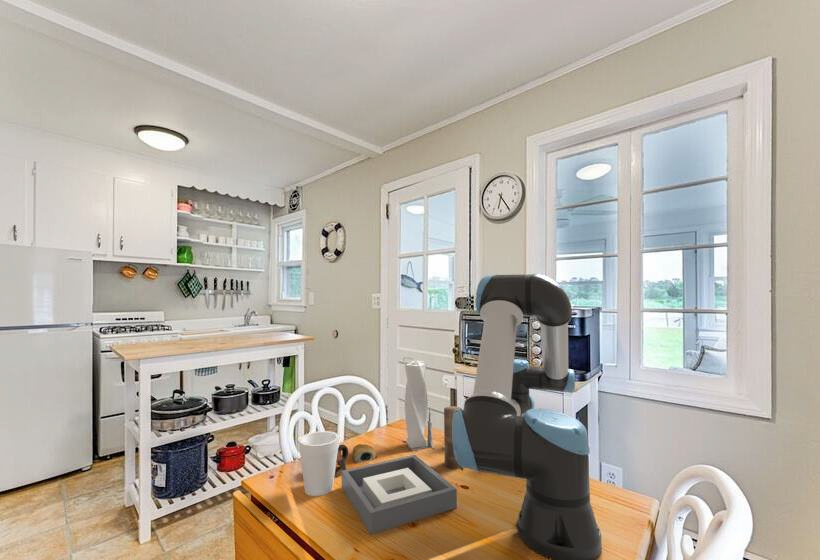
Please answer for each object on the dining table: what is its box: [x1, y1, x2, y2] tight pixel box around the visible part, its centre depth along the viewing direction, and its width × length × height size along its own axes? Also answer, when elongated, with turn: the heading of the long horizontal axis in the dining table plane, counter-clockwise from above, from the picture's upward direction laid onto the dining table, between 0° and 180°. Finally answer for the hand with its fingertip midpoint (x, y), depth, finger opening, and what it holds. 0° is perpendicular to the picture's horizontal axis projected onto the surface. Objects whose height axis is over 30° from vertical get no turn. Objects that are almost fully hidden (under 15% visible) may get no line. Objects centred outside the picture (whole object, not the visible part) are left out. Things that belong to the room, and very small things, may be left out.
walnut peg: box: [443, 406, 464, 471], centre depth 103 cm, size 5×5×16 cm
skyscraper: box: [402, 356, 435, 452], centre depth 118 cm, size 8×8×28 cm
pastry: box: [351, 443, 377, 464], centre depth 110 cm, size 9×7×4 cm
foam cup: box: [298, 430, 340, 497], centre depth 90 cm, size 10×9×13 cm
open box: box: [341, 454, 458, 535], centre depth 86 cm, size 20×20×5 cm
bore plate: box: [363, 468, 432, 508], centre depth 86 cm, size 12×12×3 cm
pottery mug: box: [335, 444, 349, 478], centre depth 101 cm, size 12×10×8 cm
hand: (466, 428), depth 108 cm, fingers open, 13 cm apart
